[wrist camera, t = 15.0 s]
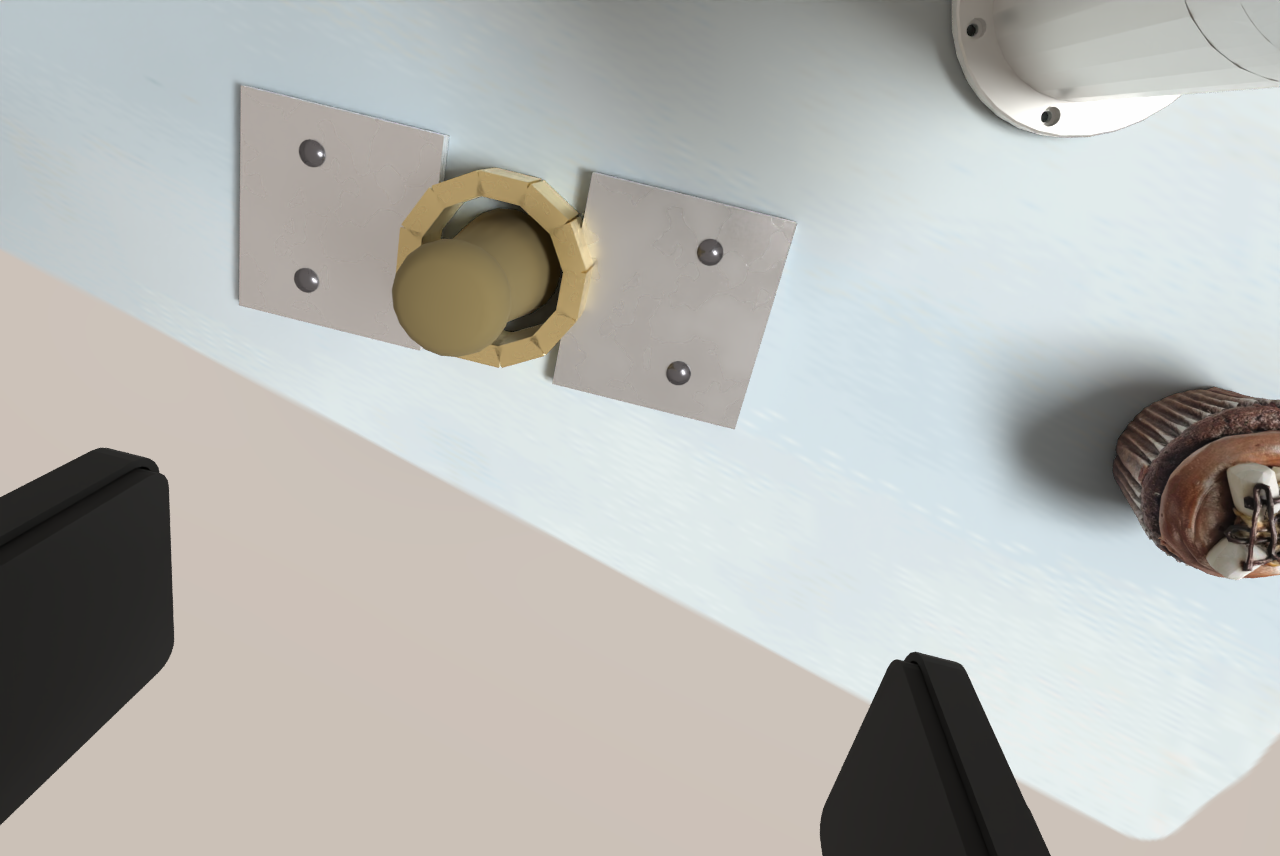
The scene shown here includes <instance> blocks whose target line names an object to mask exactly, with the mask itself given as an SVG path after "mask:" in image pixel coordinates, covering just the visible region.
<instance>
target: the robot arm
mask: <svg viewBox="0 0 1280 856" xmlns="http://www.w3.org/2000/svg"><path fill="white" fill-rule="evenodd" d="M969 25H973V26H974V27H975V29H976V30H975V34H974V35H973V36H969V35H968V34H967V32H966V31H967V28H968V26H969ZM952 33H953V39H954V44H955V49H956V55H957V58H958V61H959V63H960V65H961V68H962V70H963V73H964V75H965V78H966V80H967V82H968V83H969V85H970V86H971V87H972V89H973V90H974V92H975V93H976V95H977V96H978V98H979V99H980V101H982V102H983V103H984V104H985V105H986V106H987V107H988V108H989V109H990V110H991V111H992V112H994V113H995V114H996V115H997V116H998V117H1000V118H1001V119H1003V120H1005V121H1007V122H1008V123H1010V124H1012V125H1014V126H1015V127H1017V128H1019V129H1022V130H1026V131H1029V132H1032V133H1035V134H1039V135H1042V136H1053V137H1063V138H1072V137H1091V136H1095V135H1100V134H1105V133H1110V132H1115V131H1118V130H1120V129H1123V128H1125V127H1128V126H1131V125H1133V124H1136V123H1138V122H1141V121H1143V120H1145V119H1146V118H1148V117H1150V116H1152V115H1153V114H1155V113H1157V112H1158V111H1160V110H1162V109H1164V108H1165V107H1167V106H1169V105H1170V104H1171V103H1173V102H1174V101H1175V100H1176V99H1178V98H1179V97H1180V96H1182V95H1185V94H1198V93H1212V92H1225V91H1238V90H1251V89H1264V88H1277V87H1280V0H952ZM1044 111H1046V112H1047V113H1048V119H1047V120H1046V121H1045V122H1042V121H1041V115H1042V113H1043V112H1044ZM173 646H174V623H173V595H172V567H171V538H170V509H169V485H168V480H167V479H166V477H165V476H164V475H162V474H160V473H159V468H158V466H157V465H156V463H155V462H154V461H152V460H151V459H149V458H145V457H141V456H137V455H133V454H129V453H125V452H121V451H117V450H113V449H109V448H98V449H95V450H92V451H90V452H88V453H86V454H84V455H82V456H80V457H78V458H76V459H74V460H72V461H70V462H69V463H67V464H65V465H63V466H61V467H59V468H57V469H55V470H53V471H51V472H49V473H47V474H45V475H43V476H41V477H39V478H37V479H35V480H33V481H31V482H29V483H27V484H26V485H24V486H21V487H20V488H18V489H16V490H14V491H12V492H10V493H8V494H6V495H4V496H2V497H0V825H1V824H2V823H3V822H4V821H5V820H6V819H7V818H8V817H9V816H10V815H11V814H12V813H13V812H14V811H15V810H16V809H17V808H18V807H20V805H22V804H23V803H24V802H25V801H26V800H27V799H28V798H29V797H30V796H31V795H32V794H33V793H34V792H35V791H36V790H37V789H38V788H39V787H40V786H41V785H42V784H43V783H44V782H45V781H46V780H47V779H49V778H50V776H52V774H54V773H55V772H56V771H57V770H58V769H59V768H60V767H61V766H62V765H63V764H64V763H65V762H66V761H67V760H68V759H69V758H70V757H71V756H72V755H73V754H74V753H75V752H76V751H78V750H79V749H80V748H81V747H82V746H83V745H84V744H85V743H86V742H87V741H88V740H89V739H90V738H91V737H92V736H93V735H94V734H95V733H96V732H97V731H98V730H99V729H100V728H101V727H102V726H103V725H104V724H105V723H106V722H107V721H109V720H110V719H111V718H112V717H113V716H114V715H115V714H116V713H117V712H118V711H119V710H120V709H121V708H122V707H123V706H124V705H125V704H126V703H127V702H128V701H129V700H130V699H131V698H132V697H133V696H135V695H136V693H138V692H139V691H140V690H141V689H142V688H143V687H144V686H145V685H146V684H147V683H148V682H149V681H150V680H151V679H152V678H153V677H154V676H155V675H156V674H157V673H158V672H159V671H160V670H161V669H162V668H163V667H164V665H165V664H166V662H167V661H168V659H169V657H170V655H171V652H172V649H173ZM820 841H821V848H822V855H823V856H1051V855H1050V853H1049V851H1048V849H1047V847H1046V844H1045V842H1044V840H1043V838H1042V835H1041V833H1040V831H1039V829H1038V827H1037V825H1036V822H1035V820H1034V818H1033V816H1032V813H1031V811H1030V809H1029V808H1028V806H1027V805H1026V802H1025V800H1024V798H1023V796H1022V794H1021V791H1020V789H1019V787H1018V785H1017V783H1016V780H1015V778H1014V776H1013V774H1012V772H1011V769H1010V767H1009V765H1008V763H1007V760H1006V758H1005V756H1004V754H1003V752H1002V749H1001V747H1000V745H999V743H998V741H997V738H996V736H995V734H994V732H993V730H992V727H991V725H990V723H989V721H988V719H987V716H986V714H985V712H984V710H983V708H982V705H981V703H980V701H979V699H978V696H977V694H976V692H975V690H974V688H973V685H972V683H971V681H970V679H969V677H968V674H967V672H966V670H965V669H964V667H963V666H962V665H961V664H959V663H957V662H954V661H950V660H946V659H942V658H938V657H934V656H930V655H926V654H922V653H918V652H912V653H910V654H909V655H908V656H907V657H906V658H905V660H904V661H901V660H894V661H892V662H891V663H890V665H889V667H888V669H887V671H886V673H885V675H884V677H883V680H882V682H881V684H880V686H879V688H878V690H877V693H876V695H875V697H874V699H873V701H872V703H871V706H870V708H869V710H868V712H867V714H866V717H865V719H864V721H863V723H862V725H861V727H860V730H859V732H858V734H857V736H856V738H855V740H854V743H853V745H852V747H851V749H850V751H849V754H848V755H847V758H846V760H845V762H844V764H843V766H842V769H841V771H840V773H839V775H838V777H837V779H836V781H835V784H834V786H833V788H832V790H831V792H830V794H829V797H828V799H827V801H826V803H825V806H824V808H823V812H822V816H821V823H820Z"/></svg>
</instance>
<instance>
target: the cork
mask: <svg viewBox="0 0 1280 856" xmlns="http://www.w3.org/2000/svg"><path fill="white" fill-rule="evenodd" d="M559 278H560V262H559V259H558V256H557V253H556V250H555V247H554V244H553V241H552V238H551V236H550V234H549V233H548V232H547V231H546V230H545V229H544V228H543V227H542V226H541V225H540V224H539V223H538V222H537V221H536V220H535V219H533V218H532V217H531V216H530V215H528V214H526V213H523V212H521V211H518V210H516V209H500V208H498V209H495V210H491V211H488V212H484V213H482V214H481V215H479V216H478V217H476V218H475V219H474V220H472V221H471V222H470V223H469V224H467V225H466V226H465V227H464V228H463V229H462V230H461V231H460V232H459V233H458V234H457V235H456V236H455V237H454V238H453V239H440V240H437V241H433V242H430V243H426V244H423V245H421V246H420V247H418V248H417V249H415V250H414V251H413V252H411V253H410V254H409V255H407V257H406V258H405V260H404V262H403V263H402V265H401V266H400V268H399V269H398V271H397V272H396V274H395V279H394V283H393V287H392V299H393V308H394V311H395V313H396V316H397V318H398V321H399V323H400V325H401V326H402V328H403V329H404V330H405V332H406V333H407V334H408V336H409V337H410V338H411V339H412V340H413V341H415V342H416V343H417V344H419V345H420V346H421V347H423V348H424V349H425V350H428V351H431V352H433V353H436V354H438V355H441V356H453V357H461V356H465V355H469V354H473V353H477V352H480V351H481V350H483V349H484V348H486V347H487V346H489V345H490V344H492V343H493V342H494V341H495V340H496V339H497V338H498V336H499V335H500V334H501V332H502V331H503V329H504V328H505V327H506V324H507V322H509V321H511V320H514V319H517V318H519V317H522V316H524V315H527V314H530V313H532V312H534V311H535V310H537V309H538V308H540V307H541V306H543V305H544V304H546V303H547V301H548V300H549V299H550V297H551V296H552V295H553V293H554V292H555V290H556V287H557V284H558V281H559Z"/></svg>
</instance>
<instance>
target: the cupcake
mask: <svg viewBox="0 0 1280 856" xmlns="http://www.w3.org/2000/svg"><path fill="white" fill-rule="evenodd" d="M1116 453H1117V455H1116V457H1115V459H1114V462H1113V474H1114V478H1115V480H1116V482H1117V483H1118V485H1119V487H1120V489H1121V491H1122V493H1123V494H1124V496H1125V498H1126V499H1127V501H1128V503H1129V504H1130V506H1131V508H1132V509H1133V511H1134V513H1135V514H1136V516H1137V518H1138V520H1139V522H1140V525H1141V526H1142V528H1143V530H1144V531H1145V533H1146V535H1147V536H1148V538H1149V539H1152V540H1153V542H1154V543H1155V545H1156V546H1157V547H1158V548H1159V549H1161V550H1162V551H1164V552H1165V553H1166V554H1167V556H1172V557H1174V558H1175V559H1176V561H1177V562H1183V563H1185V564H1186V566H1192V567H1194V568H1196V569H1199V570H1202V571H1203V572H1205V573H1207V574H1210V575H1214V576H1217V577H1225V578H1228V579H1234V580H1240V579H1241V578H1258V577H1267V576H1274V575H1280V400H1269V399H1263V398H1254V397H1250V396H1246V395H1242V394H1239V393H1236V392H1233V391H1227V390H1223V389H1220V388H1217V387H1212V388H1210V389H1207V390H1202V389H1198V390H1190V391H1186V392H1182V393H1176V394H1173V395H1170V396H1168V397H1165V398H1163V399H1162V400H1160V401H1157V402H1154V403H1152V404H1151V405H1150V406H1148V407H1146V408H1144V409H1143V410H1142V411H1141V412H1140V413H1139V414H1138V415H1136V416H1135V418H1134V420H1133V421H1131V422H1130V423H1129V424H1128V426H1127V428H1126V429H1125V431H1124V432H1123V433H1122V434H1121V436H1120V437H1119V438H1118V441H1117V446H1116Z"/></svg>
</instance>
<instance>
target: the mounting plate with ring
mask: <svg viewBox="0 0 1280 856" xmlns="http://www.w3.org/2000/svg"><path fill="white" fill-rule="evenodd" d="M448 142H449V136H448V135H444V134H440V133H436V132H432V131H428V130H424V129H420V128H416V127H412V126H408V125H404V124H400V123H396V122H392V121H388V120H384V119H380V118H376V117H372V116H368V115H364V114H360V113H356V112H351V111H347V110H343V109H339V108H335V107H331V106H327V105H323V104H319V103H315V102H311V101H307V100H303V99H299V98H295V97H291V96H287V95H283V94H279V93H275V92H271V91H267V90H263V89H259V88H255V87H251V86H241V121H240V256H239V305H240V306H244V307H248V308H252V309H256V310H260V311H264V312H268V313H272V314H276V315H280V316H284V317H288V318H292V319H296V320H300V321H304V322H308V323H312V324H316V325H320V326H324V327H328V328H332V329H336V330H340V331H344V332H348V333H352V334H356V335H360V336H364V337H368V338H372V339H376V340H380V341H384V342H388V343H392V344H396V345H400V346H404V347H408V348H412V349H416V350H422V349H423V347H421V346H420V345H419V344H417V343H416V342H415V341H413V340H412V339H411V338H410V337H409V336H408V334H407V333H406V332H405V330H404V329H403V328H402V326H401V325H400V323H399V321H398V318H397V316H396V313H395V311H394V308H393V299H392V287H393V283H394V279H395V274H396V272H397V271H398V269H399V268H400V266H401V265H402V263H403V262H404V260H405V258H406V257H407V255H409V254H410V253H411V252H413V251H414V250H415V249H417V248H418V247H420V246H421V245H423V244H426V243H430V242H433V241H437V240H440V239H441V235H442V230H443V228H444V227H445V226H446V224H447V223H448V222H449V221H450V219H451V218H452V217H453V215H454V214H455V213H456V212H457V210H458V209H459V208H460V207H461V205H462V204H463V203H464V202H467V201H470V200H473V199H476V198H479V197H482V196H483V197H487V198H491V199H495V200H499V201H503V202H507V203H511V204H515V205H519V206H521V207H522V208H523V209H524V210H525V211H526V212H527V213H528V214H529V215H530V216H531V217H532V218H533V219H535V220H536V221H537V222H538V223H539V224H540V225H541V226H542V227H543V228H544V229H545V230H546V231H547V232H548V233H549V234H550V236H551V238H552V241H553V244H554V247H555V250H556V253H557V256H558V259H559V262H560V265H561V268H562V271H563V276H562V281H561V287H560V292H559V297H558V303H557V308H556V311H555V312H554V313H553V314H552V315H551V316H550V317H549V319H548V320H547V321H546V322H545V323H543V324H540V325H536V326H533V327H529V328H526V329H522V330H519V331H515V332H509V331H505V330H503V331H502V332H501V334H500V335H499V336H498V338H497V339H496V340H495V341H494V342H493V343H492V344H490V345H489V346H487V347H486V348H484V349H483V350H481V351H480V352H477V353H473V354H469V355H465V356H461V357H458V358H462V359H466V360H470V361H474V362H478V363H482V364H486V365H490V366H494V367H498V368H499V367H500V366H501V367H502V368H503V367H506V366H510V365H514V364H517V363H521V362H524V361H528V360H532V359H535V358H539V357H542V356H544V355H545V354H547V353H548V352H549V351H550V350H551V349H552V348H553V347H554V346H555V345H556V343H557V342H558V341H559V340H560V339H561V340H560V346H559V351H558V356H557V362H556V367H555V372H554V377H553V383H552V384H556V385H560V386H564V387H568V388H572V389H576V390H580V391H584V392H588V393H592V394H596V395H600V396H604V397H608V398H612V399H616V400H620V401H624V402H628V403H632V404H636V405H640V406H644V407H648V408H652V409H656V410H659V411H663V412H667V413H671V414H675V415H679V416H683V417H687V418H691V419H695V420H699V421H703V422H707V423H711V424H715V425H719V426H723V427H727V428H731V429H735V426H736V423H737V420H738V416H739V413H740V410H741V407H742V403H743V400H744V397H745V393H746V390H747V387H748V384H749V380H750V377H751V374H752V370H753V367H754V364H755V361H756V357H757V354H758V351H759V347H760V344H761V341H762V337H763V334H764V331H765V328H766V324H767V321H768V318H769V314H770V311H771V308H772V305H773V301H774V298H775V295H776V291H777V288H778V285H779V282H780V278H781V275H782V272H783V268H784V265H785V262H786V258H787V255H788V252H789V249H790V245H791V242H792V239H793V235H794V232H795V229H796V226H797V223H796V222H795V221H791V220H787V219H783V218H779V217H775V216H771V215H767V214H763V213H759V212H755V211H751V210H747V209H743V208H739V207H735V206H731V205H727V204H723V203H719V202H715V201H710V200H706V199H702V198H698V197H694V196H690V195H686V194H682V193H678V192H674V191H670V190H666V189H662V188H658V187H654V186H650V185H646V184H642V183H638V182H634V181H630V180H626V179H622V178H618V177H614V176H610V175H606V174H602V173H598V172H593V173H592V177H591V182H590V188H589V193H588V198H587V203H586V209H585V214H584V219H583V221H582V218H581V216H580V217H577V218H576V216H577V215H578V214H579V213H578V212H577V211H576V210H575V209H574V208H573V207H572V206H571V205H570V204H569V203H568V202H567V201H566V200H564V199H563V198H562V197H561V196H560V195H559V194H558V193H557V192H556V191H555V190H554V189H553V188H552V187H551V186H550V185H549V184H548V183H547V182H546V181H545V180H544V181H541V178H537V177H533V176H529V175H525V174H521V173H517V172H513V171H508V170H504V169H500V168H488V169H482V170H476V171H473V172H470V173H467V174H464V175H461V176H458V177H456V178H453V179H450V180H447V181H444V177H445V168H446V160H447V151H448Z"/></svg>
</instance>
